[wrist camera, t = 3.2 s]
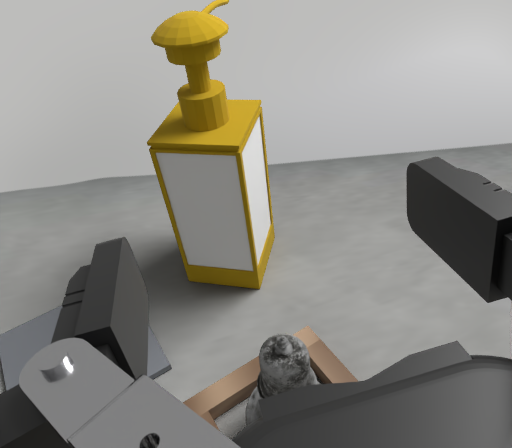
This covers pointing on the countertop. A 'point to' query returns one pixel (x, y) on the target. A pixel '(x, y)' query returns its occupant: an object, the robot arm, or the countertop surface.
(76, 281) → the robot arm
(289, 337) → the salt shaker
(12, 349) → the slate mat
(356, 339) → the countertop surface
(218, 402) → the holder frame
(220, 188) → the soap bottle
